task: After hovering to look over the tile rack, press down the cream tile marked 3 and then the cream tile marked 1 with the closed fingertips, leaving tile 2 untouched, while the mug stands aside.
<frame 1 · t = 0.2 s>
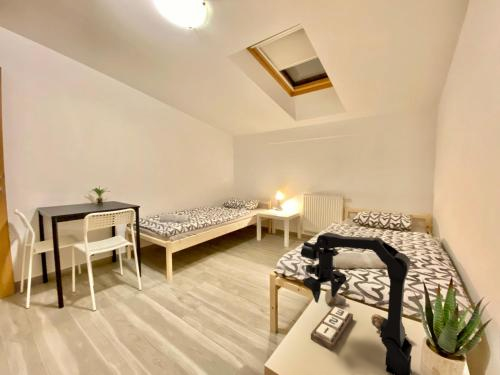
hand: (324, 299, 91), 14 cm above the table, fingers open, 9 cm apart
tile 3: (339, 313, 98), point 3 cm above the table, slide at 0.0 cm
tile 1: (326, 332, 87), point 3 cm above the table, slide at 0.0 cm
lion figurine: (387, 336, 89), on the table
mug: (335, 303, 111), on the table
tile rack: (333, 328, 93), on the table
tile 2: (333, 322, 93), point 3 cm above the table, slide at 0.0 cm
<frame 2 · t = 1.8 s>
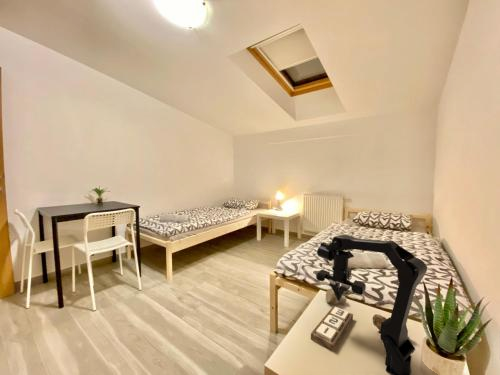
hand: (338, 300, 92), 13 cm above the table, fingers closed
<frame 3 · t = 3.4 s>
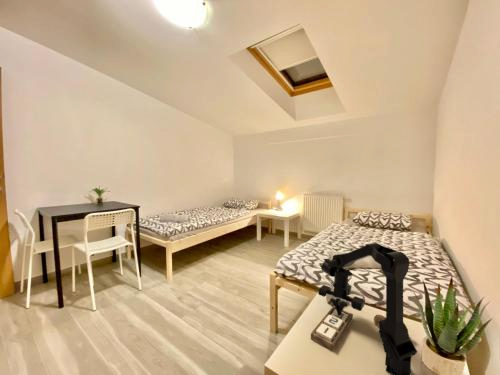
hand: (339, 314, 98), 2 cm above the table, fingers closed, pressing on tile 3
tile 3: (339, 316, 98), point 2 cm above the table, slide at 1.3 cm, touching gripper
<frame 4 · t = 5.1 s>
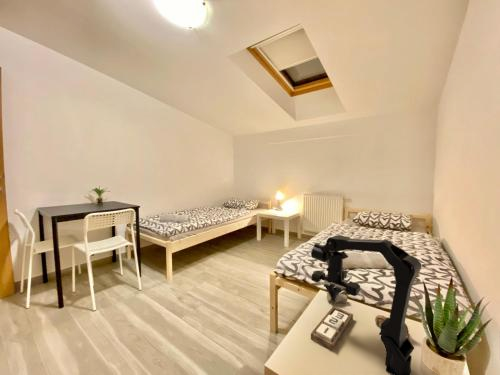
hand: (333, 301, 92), 12 cm above the table, fingers closed
tile 3: (339, 317, 99), point 1 cm above the table, slide at 1.6 cm
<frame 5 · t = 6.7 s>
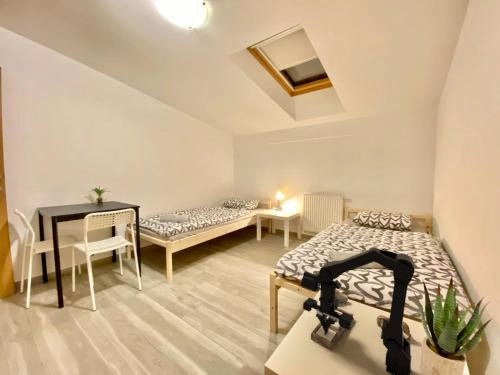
hand: (326, 332, 87), 3 cm above the table, fingers closed, pressing on tile 1
tile 1: (326, 334, 87), point 2 cm above the table, slide at 1.0 cm, touching gripper
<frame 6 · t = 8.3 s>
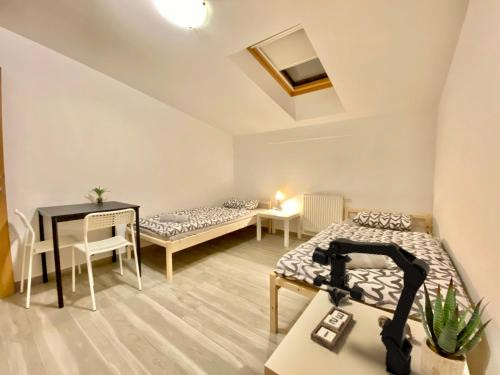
hand: (336, 306, 88), 12 cm above the table, fingers closed
tile 1: (326, 335, 87), point 1 cm above the table, slide at 1.6 cm
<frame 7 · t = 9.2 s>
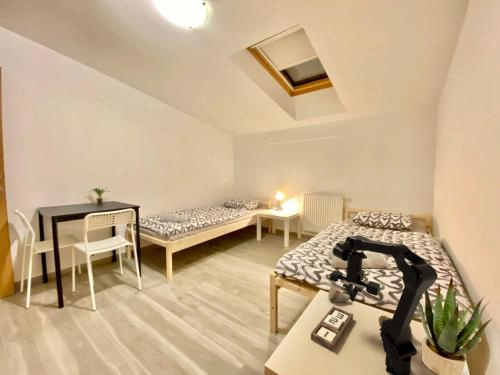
hand: (352, 301, 92), 13 cm above the table, fingers closed
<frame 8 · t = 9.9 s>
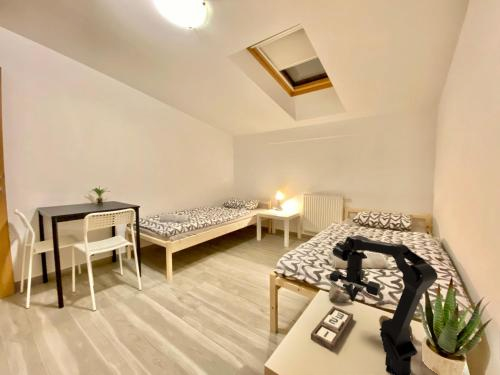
hand: (352, 301, 92), 13 cm above the table, fingers closed
at the end: tile 3 slide at 1.6 cm; tile 1 slide at 1.6 cm; tile 2 slide at 0.0 cm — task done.
